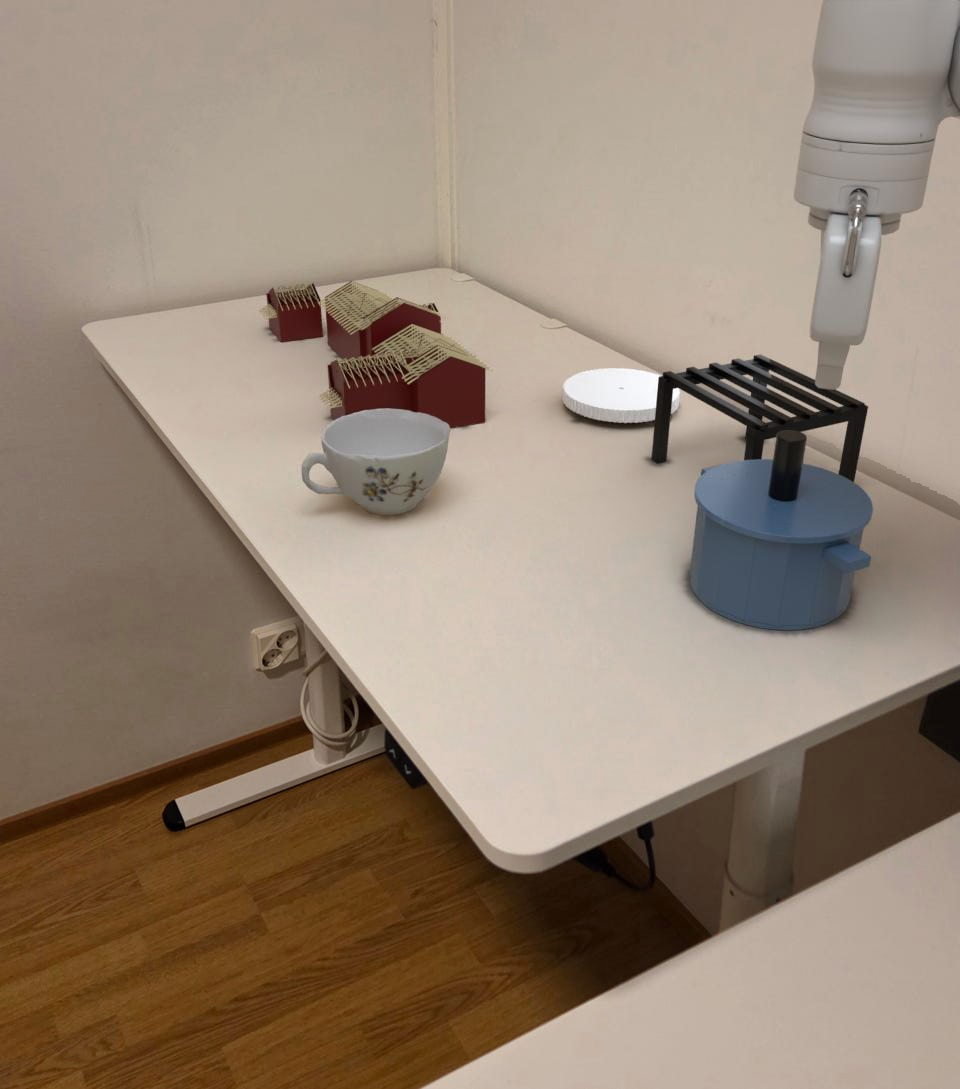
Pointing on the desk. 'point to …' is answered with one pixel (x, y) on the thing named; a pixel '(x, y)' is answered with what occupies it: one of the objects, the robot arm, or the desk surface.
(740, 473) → the lid
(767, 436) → the rack
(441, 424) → the teacup
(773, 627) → the pot
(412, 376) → the toy houses
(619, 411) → the plastic lid
